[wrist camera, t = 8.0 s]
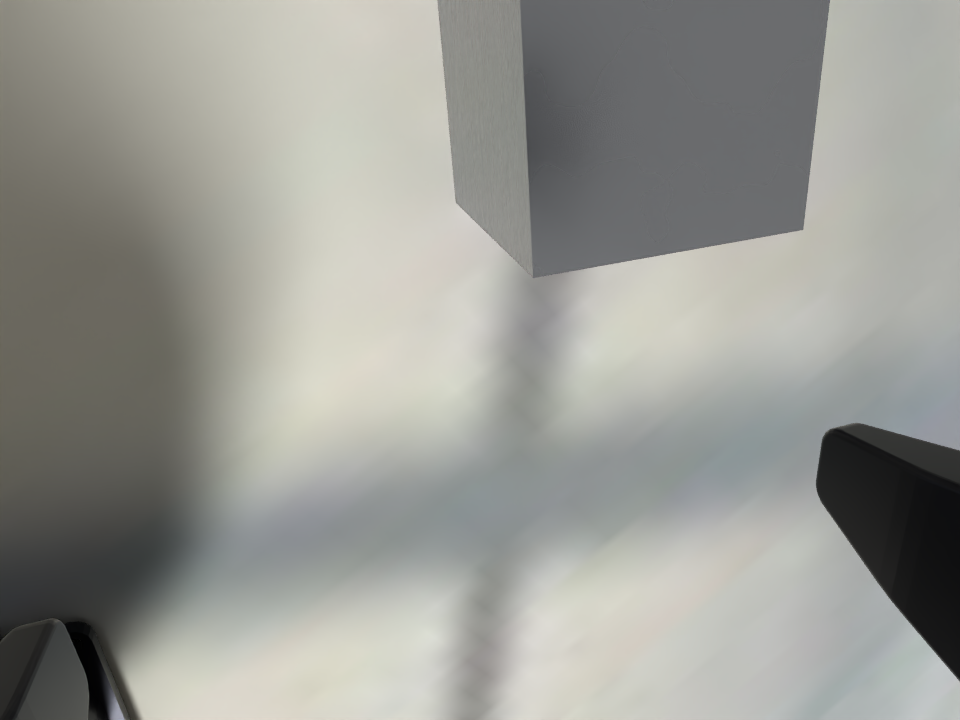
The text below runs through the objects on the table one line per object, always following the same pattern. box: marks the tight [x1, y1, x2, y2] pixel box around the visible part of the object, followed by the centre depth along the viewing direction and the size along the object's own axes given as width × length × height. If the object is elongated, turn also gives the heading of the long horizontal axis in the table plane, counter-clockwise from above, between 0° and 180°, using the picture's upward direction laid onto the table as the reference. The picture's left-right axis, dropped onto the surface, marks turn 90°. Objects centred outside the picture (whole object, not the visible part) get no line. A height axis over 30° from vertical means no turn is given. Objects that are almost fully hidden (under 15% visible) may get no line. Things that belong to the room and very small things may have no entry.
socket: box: [438, 0, 830, 278], centre depth 17 cm, size 7×6×6 cm
